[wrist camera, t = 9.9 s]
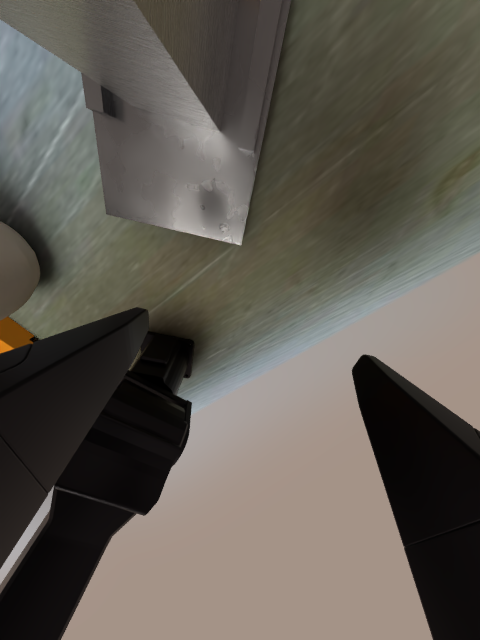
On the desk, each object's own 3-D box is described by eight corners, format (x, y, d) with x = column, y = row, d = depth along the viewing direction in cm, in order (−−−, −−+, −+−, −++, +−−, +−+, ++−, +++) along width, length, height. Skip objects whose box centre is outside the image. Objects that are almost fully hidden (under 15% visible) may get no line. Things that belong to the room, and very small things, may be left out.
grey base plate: (242, 240, 19) (239, 253, 15) (120, 211, 18) (84, 218, 14) (310, -94, 10) (342, -258, 6) (82, -169, 10) (-31, -401, 6)
